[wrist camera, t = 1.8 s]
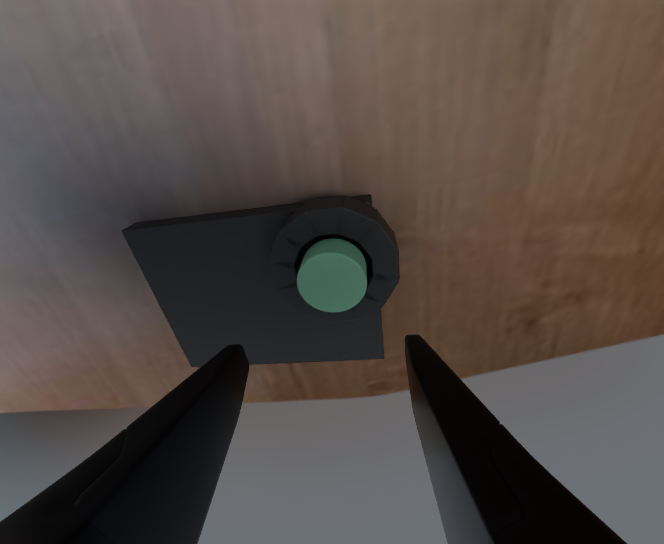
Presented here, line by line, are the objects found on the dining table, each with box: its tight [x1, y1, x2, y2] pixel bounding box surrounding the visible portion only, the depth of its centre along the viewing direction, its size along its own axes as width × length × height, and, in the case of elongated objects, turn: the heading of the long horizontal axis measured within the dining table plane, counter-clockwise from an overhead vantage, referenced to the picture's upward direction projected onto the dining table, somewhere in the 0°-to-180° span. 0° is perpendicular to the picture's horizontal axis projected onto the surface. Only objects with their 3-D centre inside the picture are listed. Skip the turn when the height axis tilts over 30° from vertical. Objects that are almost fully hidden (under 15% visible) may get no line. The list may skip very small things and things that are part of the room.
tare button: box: [297, 238, 367, 312], centre depth 13 cm, size 3×3×2 cm
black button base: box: [122, 195, 400, 367], centre depth 17 cm, size 14×10×3 cm
